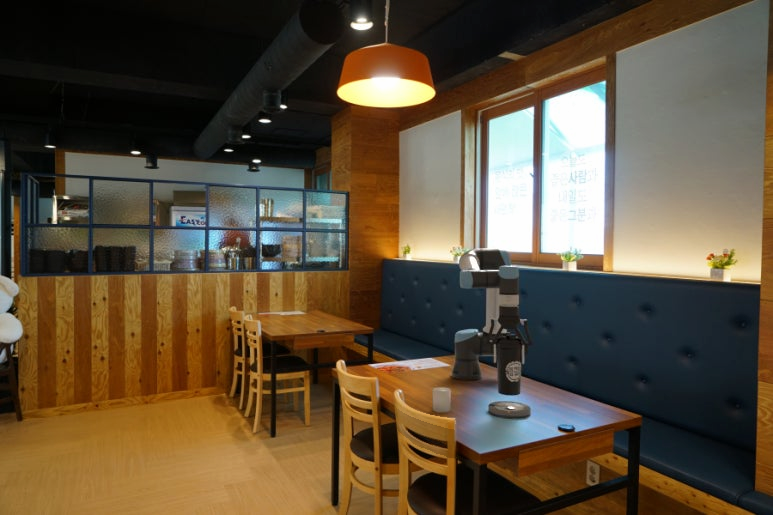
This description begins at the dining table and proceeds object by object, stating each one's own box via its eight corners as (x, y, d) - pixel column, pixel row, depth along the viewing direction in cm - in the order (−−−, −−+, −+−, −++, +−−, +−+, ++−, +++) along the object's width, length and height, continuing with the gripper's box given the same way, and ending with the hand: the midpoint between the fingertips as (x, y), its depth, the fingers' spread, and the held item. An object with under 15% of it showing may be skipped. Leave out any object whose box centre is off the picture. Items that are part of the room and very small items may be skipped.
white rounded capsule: (434, 406, 209) (434, 386, 209) (451, 407, 208) (451, 387, 207) (431, 411, 203) (431, 391, 202) (449, 413, 201) (449, 392, 201)
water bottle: (503, 397, 195) (503, 336, 195) (491, 390, 205) (491, 332, 204) (527, 395, 197) (527, 335, 197) (514, 388, 207) (514, 331, 207)
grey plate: (489, 404, 211) (489, 399, 211) (530, 407, 207) (530, 402, 207) (487, 417, 196) (487, 411, 196) (530, 420, 192) (530, 414, 192)
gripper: (478, 305, 200) (478, 363, 200) (539, 307, 194) (539, 365, 194) (480, 303, 207) (480, 359, 208) (538, 305, 202) (539, 361, 202)
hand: (509, 362), depth 201 cm, fingers closed on water bottle, 10 cm apart
